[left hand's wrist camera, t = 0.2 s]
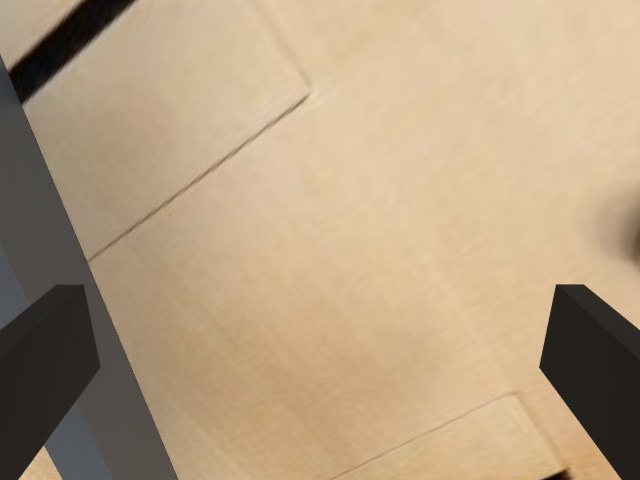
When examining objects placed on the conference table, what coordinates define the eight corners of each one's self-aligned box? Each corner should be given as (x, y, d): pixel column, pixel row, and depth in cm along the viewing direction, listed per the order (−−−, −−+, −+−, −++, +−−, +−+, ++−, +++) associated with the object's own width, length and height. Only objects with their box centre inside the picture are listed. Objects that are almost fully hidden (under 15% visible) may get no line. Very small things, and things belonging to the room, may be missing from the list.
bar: (-158, -164, 31) (-331, -249, 23) (-98, -181, 31) (-251, -273, 22) (159, 526, 54) (131, 607, 46) (195, 520, 54) (173, 601, 46)
